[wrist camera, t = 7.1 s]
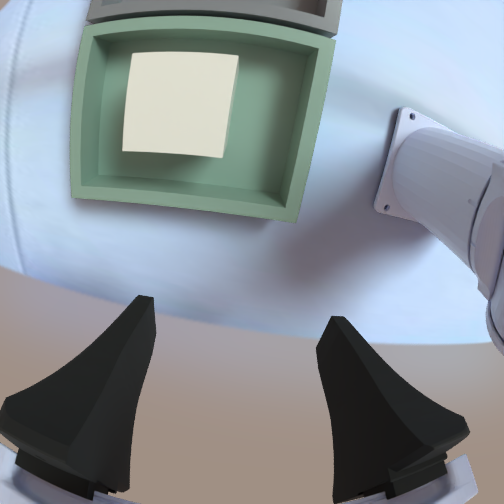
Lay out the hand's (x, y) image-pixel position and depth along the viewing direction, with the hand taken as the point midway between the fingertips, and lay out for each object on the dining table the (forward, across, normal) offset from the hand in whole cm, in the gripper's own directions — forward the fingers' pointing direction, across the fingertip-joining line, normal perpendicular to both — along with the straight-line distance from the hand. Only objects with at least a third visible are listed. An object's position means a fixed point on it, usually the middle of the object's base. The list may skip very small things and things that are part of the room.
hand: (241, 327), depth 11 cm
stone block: (+9, +4, -8) cm, 12 cm away
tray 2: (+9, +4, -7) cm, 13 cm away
